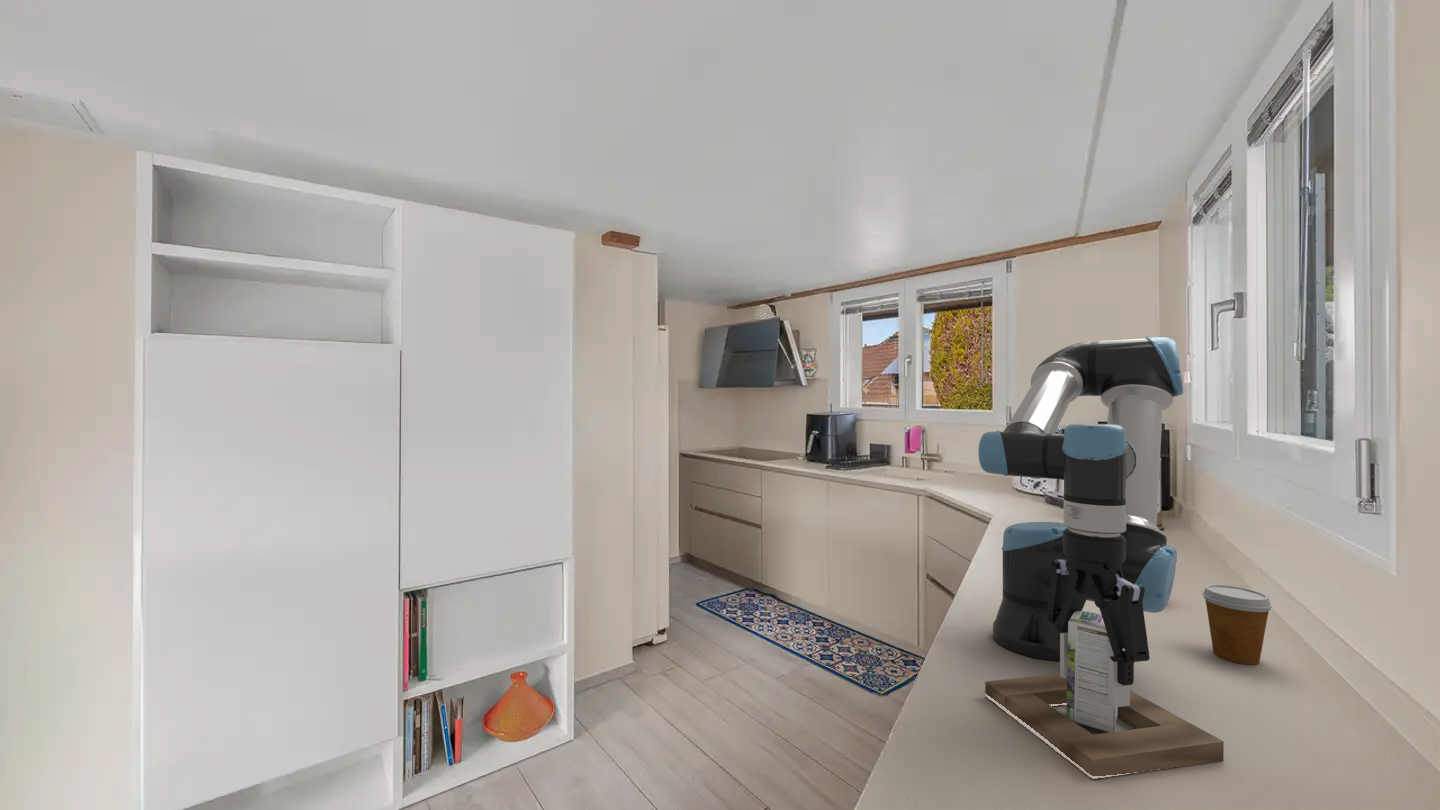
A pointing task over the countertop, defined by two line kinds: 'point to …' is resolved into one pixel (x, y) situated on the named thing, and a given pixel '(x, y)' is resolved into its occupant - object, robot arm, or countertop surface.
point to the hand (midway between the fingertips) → (1093, 689)
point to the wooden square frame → (1113, 753)
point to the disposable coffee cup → (1237, 622)
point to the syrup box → (1089, 672)
